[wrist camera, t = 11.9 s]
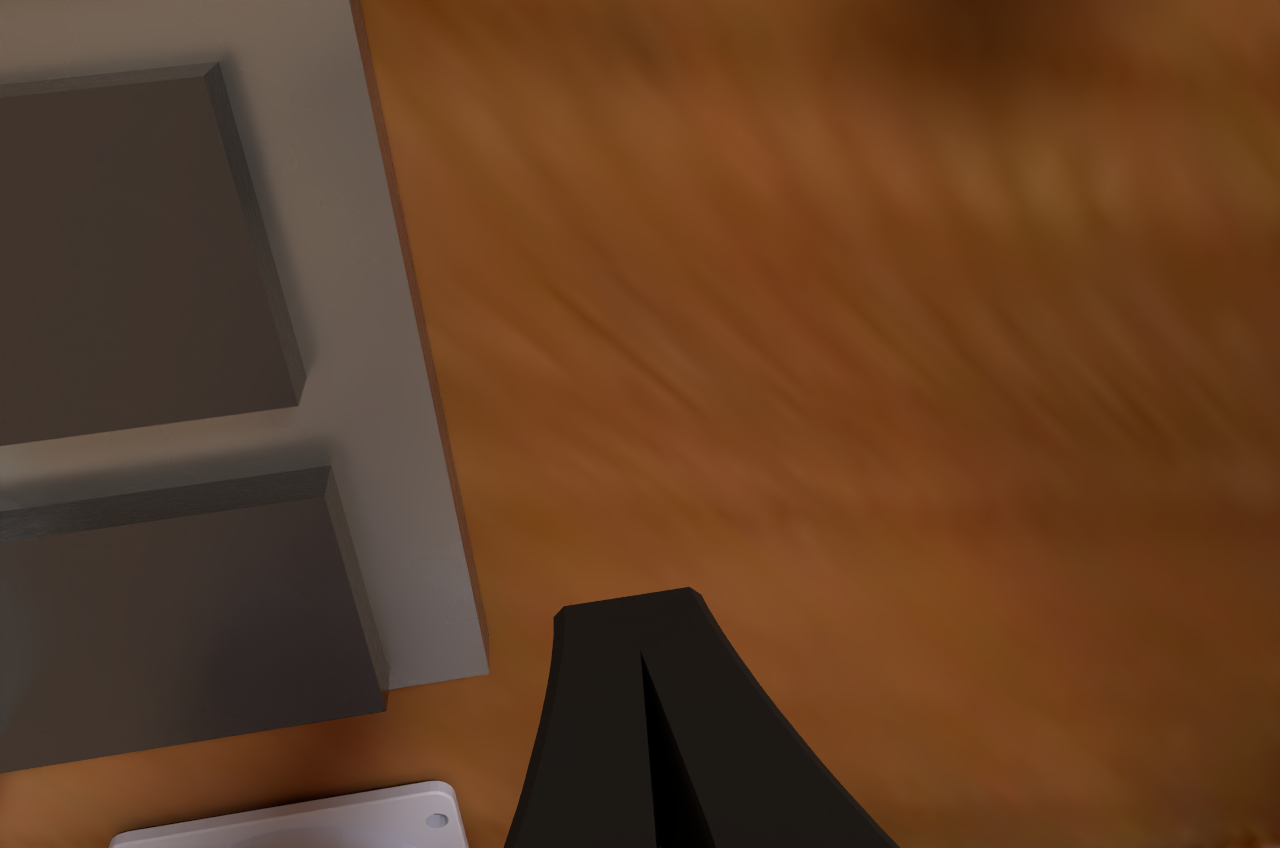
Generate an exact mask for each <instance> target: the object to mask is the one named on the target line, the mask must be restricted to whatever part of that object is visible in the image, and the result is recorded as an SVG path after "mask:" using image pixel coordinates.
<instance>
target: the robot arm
mask: <svg viewBox="0 0 1280 848" xmlns="http://www.w3.org/2000/svg"><path fill="white" fill-rule="evenodd" d="M434 814H440V815H434ZM660 847H661V848H900V847H899V846H898V845H897V844H896V843H895V842H894V841H893V840H892V839H891V838H890V837H889V836H888V835H887V834H886V833H885V832H884V831H883V830H882V828H881V827H880V826H879V825H878V824H877V823H876V822H875V821H874V820H873V819H872V818H871V816H870V815H869V814H868V813H867V812H866V811H865V810H864V809H863V808H862V807H861V806H860V805H859V803H858V802H857V801H856V800H855V799H854V798H853V797H852V796H851V795H850V794H849V793H848V791H847V790H846V789H845V788H844V787H843V786H842V785H841V784H840V782H839V781H838V780H837V779H836V778H835V777H834V776H833V774H832V773H831V772H830V771H829V770H828V769H827V767H826V766H825V765H824V764H823V763H822V762H821V761H820V759H819V758H818V757H817V756H816V755H815V753H814V752H813V751H812V750H811V748H810V747H809V746H808V745H807V744H806V742H805V741H804V740H803V739H802V737H801V736H800V735H799V734H798V733H797V731H796V730H795V729H794V728H793V726H792V725H791V724H790V723H789V721H788V720H787V719H786V718H785V717H784V715H783V714H782V713H781V712H780V710H779V709H778V708H777V707H776V705H775V704H774V703H773V701H772V700H771V699H770V697H769V696H768V695H767V694H766V692H765V691H764V690H763V688H762V687H761V686H760V684H759V683H758V682H757V680H756V679H755V677H754V676H753V675H752V673H751V672H750V670H749V669H748V668H747V666H746V665H745V663H744V662H743V661H742V659H741V658H740V657H739V655H738V654H737V652H736V651H735V649H734V648H733V646H732V645H731V643H730V642H729V640H728V639H727V637H726V636H725V634H724V633H723V631H722V630H721V628H720V626H719V625H718V623H717V622H716V620H715V618H714V617H713V615H712V613H711V612H710V610H709V608H708V607H707V605H706V603H705V601H704V599H703V597H702V595H701V594H699V593H698V592H696V591H695V590H693V589H692V588H690V587H686V588H680V589H673V590H667V591H660V592H654V593H647V594H641V595H634V596H628V597H621V598H615V599H608V600H602V601H595V602H589V603H582V604H576V605H570V606H564V607H563V608H562V609H561V610H560V611H559V612H558V613H557V614H556V615H555V616H554V638H553V649H552V659H551V666H550V673H549V679H548V685H547V690H546V695H545V700H544V705H543V710H542V715H541V720H540V724H539V728H538V732H537V736H536V739H535V743H534V747H533V751H532V755H531V759H530V762H529V766H528V770H527V774H526V778H525V782H524V785H523V789H522V793H521V796H520V799H519V803H518V806H517V809H516V812H515V815H514V818H513V821H512V824H511V827H510V830H509V833H508V836H507V839H506V842H505V845H504V848H660ZM108 848H469V846H468V842H467V838H466V834H465V830H464V826H463V822H462V818H461V814H460V810H459V806H458V802H457V799H456V795H455V791H454V790H453V788H452V786H450V785H449V784H447V783H445V782H441V781H427V782H421V783H415V784H409V785H403V786H397V787H391V788H385V789H379V790H373V791H367V792H361V793H355V794H349V795H343V796H337V797H331V798H325V799H319V800H313V801H307V802H301V803H295V804H289V805H284V806H278V807H272V808H266V809H260V810H254V811H248V812H242V813H236V814H230V815H224V816H218V817H212V818H206V819H200V820H194V821H188V822H182V823H176V824H170V825H164V826H158V827H152V828H146V829H140V830H134V831H128V832H124V833H121V834H118V835H116V836H115V837H114V838H112V840H111V842H110V844H109V847H108Z"/></svg>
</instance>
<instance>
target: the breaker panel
mask: <svg viewBox="0 0 1280 848" xmlns="http://www.w3.org/2000/svg"><path fill="white" fill-rule="evenodd" d="M484 674H490V671H489V634H488V629H487V624H486V620H485V615H484V610H483V605H482V600H481V595H480V590H479V585H478V580H477V575H476V570H475V566H474V561H473V556H472V551H471V546H470V541H469V536H468V531H467V526H466V521H465V517H464V512H463V507H462V502H461V497H460V492H459V487H458V482H457V477H456V472H455V467H454V463H453V458H452V453H451V448H450V443H449V438H448V433H447V428H446V423H445V418H444V413H443V409H442V404H441V399H440V394H439V389H438V384H437V379H436V374H435V369H434V364H433V359H432V355H431V350H430V345H429V340H428V335H427V330H426V325H425V320H424V315H423V310H422V306H421V301H420V296H419V291H418V286H417V281H416V276H415V271H414V266H413V261H412V256H411V252H410V247H409V242H408V237H407V232H406V227H405V222H404V217H403V212H402V207H401V202H400V198H399V193H398V188H397V183H396V178H395V173H394V168H393V163H392V158H391V153H390V148H389V144H388V139H387V134H386V129H385V124H384V119H383V114H382V109H381V104H380V99H379V95H378V90H377V85H376V80H375V75H374V70H373V65H372V60H371V55H370V50H369V45H368V41H367V36H366V31H365V26H364V21H363V16H362V11H361V6H360V1H359V0H0V773H5V772H11V771H17V770H23V769H29V768H36V767H42V766H48V765H54V764H60V763H67V762H73V761H79V760H85V759H92V758H98V757H104V756H110V755H116V754H123V753H129V752H135V751H141V750H148V749H154V748H160V747H166V746H172V745H179V744H185V743H191V742H197V741H203V740H210V739H216V738H222V737H228V736H235V735H241V734H247V733H253V732H259V731H266V730H272V729H278V728H284V727H291V726H297V725H303V724H309V723H315V722H322V721H328V720H334V719H340V718H347V717H353V716H359V715H365V714H371V713H378V712H384V711H386V710H387V699H388V690H390V689H396V688H403V687H409V686H415V685H422V684H428V683H434V682H440V681H447V680H453V679H459V678H466V677H472V676H478V675H484Z"/></svg>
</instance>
